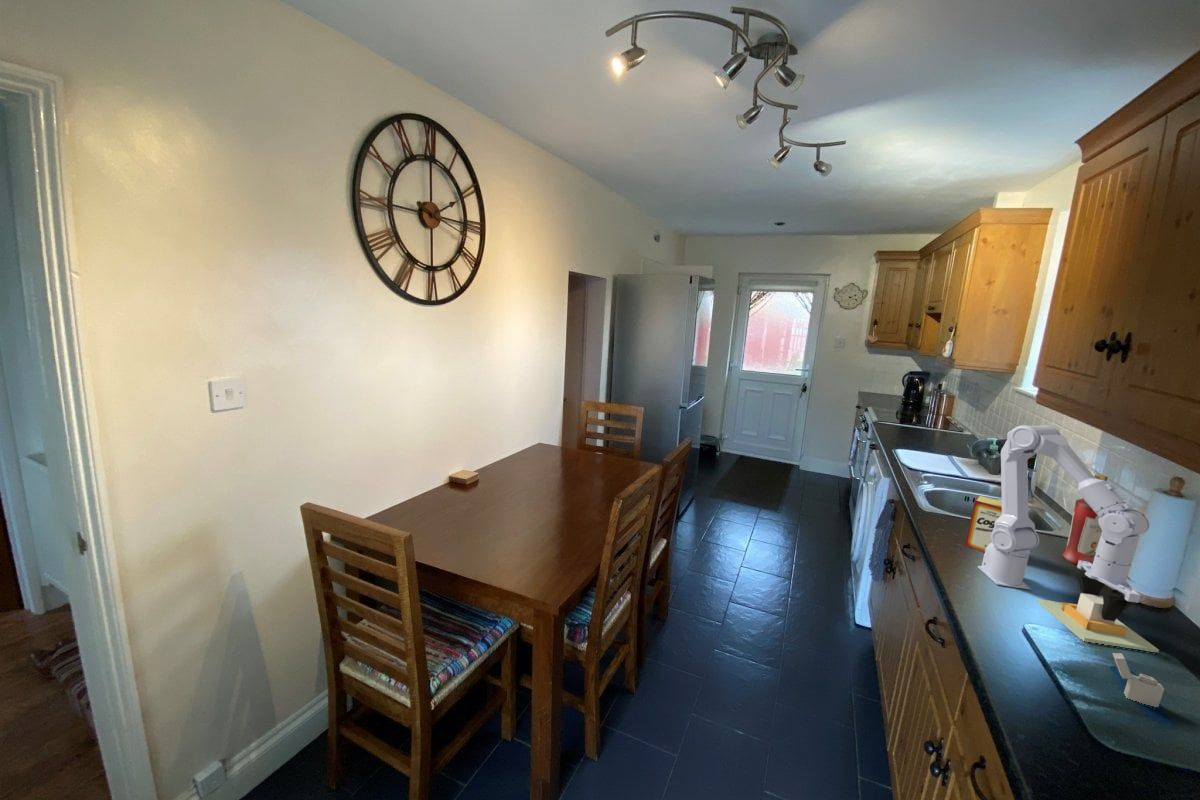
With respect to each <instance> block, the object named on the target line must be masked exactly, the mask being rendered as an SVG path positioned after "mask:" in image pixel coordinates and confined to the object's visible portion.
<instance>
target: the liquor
mask: <svg viewBox="0 0 1200 800" xmlns="http://www.w3.org/2000/svg"><path fill="white" fill-rule="evenodd" d="M1093 476H1094V477H1095V478H1096V479H1100V480H1104V481H1106V482H1107V483H1108V478H1109V476H1108V475H1107V476H1106V475H1104V474H1099V473H1098V474H1097V473H1095V474H1094V475H1093ZM1099 518H1100V517H1099V516H1098V515H1097V514H1096V513H1095V512H1094V510H1093V509H1092V508H1091V507H1090V506H1089V505H1088V503H1087V502H1086V501H1085V500H1084V499H1083V498H1079V499H1076V500H1075V504H1074V509H1073V513H1072V519H1071V523H1070V529H1069V534H1068V539H1067V543H1066V547H1065V551H1064V552H1062V556H1063V557H1064V558H1065V559H1066V561H1067V562H1068V561H1069V562H1068V563H1070V562H1071V563H1070V564H1072V563H1073V565H1075V564H1076V566H1077V565H1078V562H1079V560H1080V561H1088V562H1090V563H1091V564H1093V561H1094V557H1095V554H1096V551H1097V547H1098V544H1099V540H1100V537H1101V534H1102V529H1101V527H1100V525H1099V522H1098V519H1099Z"/></svg>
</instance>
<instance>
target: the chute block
mask: <svg viewBox="0 0 1200 800" xmlns="http://www.w3.org/2000/svg"><path fill="white" fill-rule="evenodd" d="M1102 609H1103V595H1098V596H1097V595H1090V594H1084V593H1081V592H1080V595H1079V598H1078V602H1077V608H1076V610H1077V611H1078V612H1079V613H1081V614H1082V615H1083V616H1085V617H1086V618H1087V619H1088V620H1091V621H1097V622H1103V623H1110V624H1115V621H1109V620H1104V619H1103V618H1102Z"/></svg>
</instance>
